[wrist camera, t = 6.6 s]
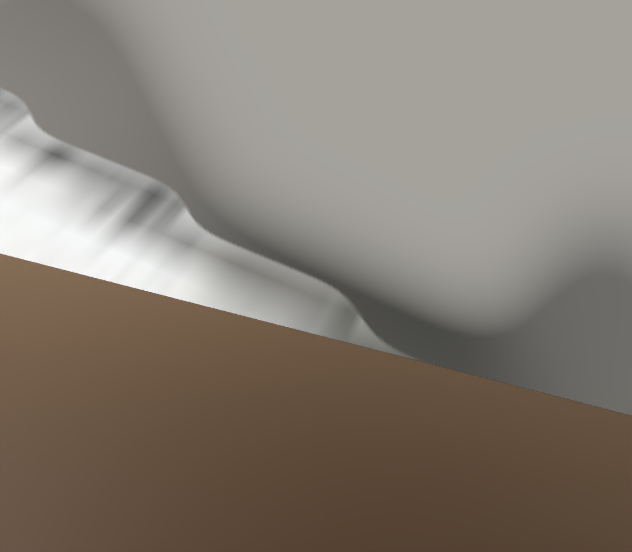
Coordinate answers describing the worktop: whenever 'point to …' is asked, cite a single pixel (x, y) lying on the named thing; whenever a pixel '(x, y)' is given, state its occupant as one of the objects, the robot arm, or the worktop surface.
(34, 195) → the worktop surface
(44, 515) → the walnut block
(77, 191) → the worktop surface
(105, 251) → the worktop surface
